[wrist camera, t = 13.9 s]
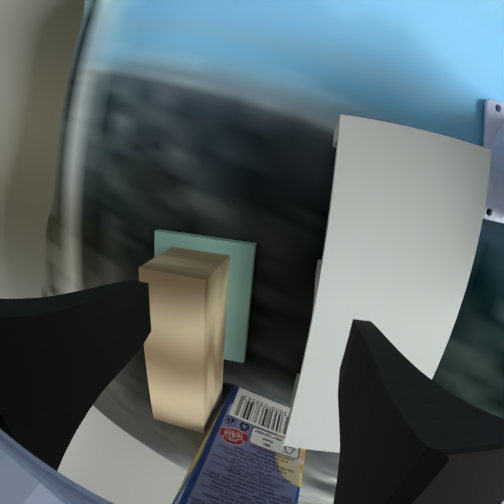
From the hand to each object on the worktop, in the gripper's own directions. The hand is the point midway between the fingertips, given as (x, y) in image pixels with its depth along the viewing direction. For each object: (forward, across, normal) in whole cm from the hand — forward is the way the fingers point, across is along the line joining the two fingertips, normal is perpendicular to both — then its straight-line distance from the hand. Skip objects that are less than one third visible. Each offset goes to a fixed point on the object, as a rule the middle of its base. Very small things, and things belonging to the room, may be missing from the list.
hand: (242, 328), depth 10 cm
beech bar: (+10, +5, +7) cm, 13 cm away
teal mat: (+10, +5, +4) cm, 12 cm away
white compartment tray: (+10, -6, +1) cm, 12 cm away
